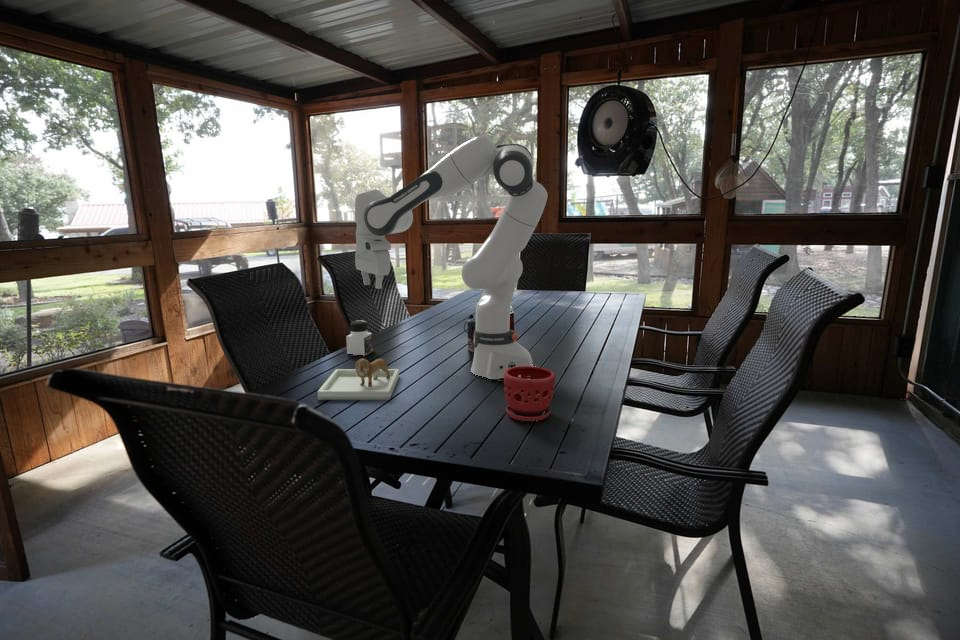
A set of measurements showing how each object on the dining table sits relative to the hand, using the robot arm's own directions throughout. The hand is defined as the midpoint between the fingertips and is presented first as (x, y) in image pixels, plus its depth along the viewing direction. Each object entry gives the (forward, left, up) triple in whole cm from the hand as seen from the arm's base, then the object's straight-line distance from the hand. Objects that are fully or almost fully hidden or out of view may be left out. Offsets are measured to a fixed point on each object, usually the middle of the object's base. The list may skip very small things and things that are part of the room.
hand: (372, 286), depth 166 cm
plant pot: (-47, +38, -28) cm, 67 cm away
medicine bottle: (+9, -20, -28) cm, 36 cm away
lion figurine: (-2, +16, -27) cm, 32 cm away
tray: (+1, +17, -28) cm, 33 cm away
